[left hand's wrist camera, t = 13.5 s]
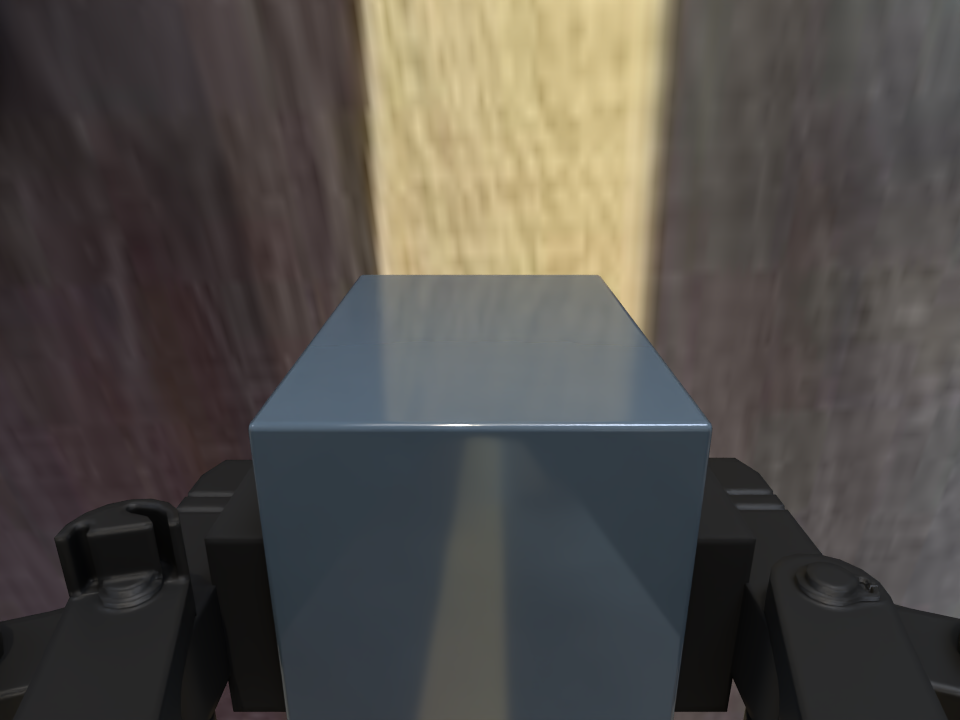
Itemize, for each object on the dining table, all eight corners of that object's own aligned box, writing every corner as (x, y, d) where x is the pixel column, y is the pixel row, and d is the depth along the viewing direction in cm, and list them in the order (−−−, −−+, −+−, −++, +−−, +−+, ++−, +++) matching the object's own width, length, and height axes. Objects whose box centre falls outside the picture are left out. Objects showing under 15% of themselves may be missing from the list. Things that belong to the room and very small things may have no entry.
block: (374, 514, 16) (296, 809, 9) (359, 274, 14) (244, 424, 7) (585, 513, 16) (663, 809, 9) (601, 274, 14) (716, 424, 7)
